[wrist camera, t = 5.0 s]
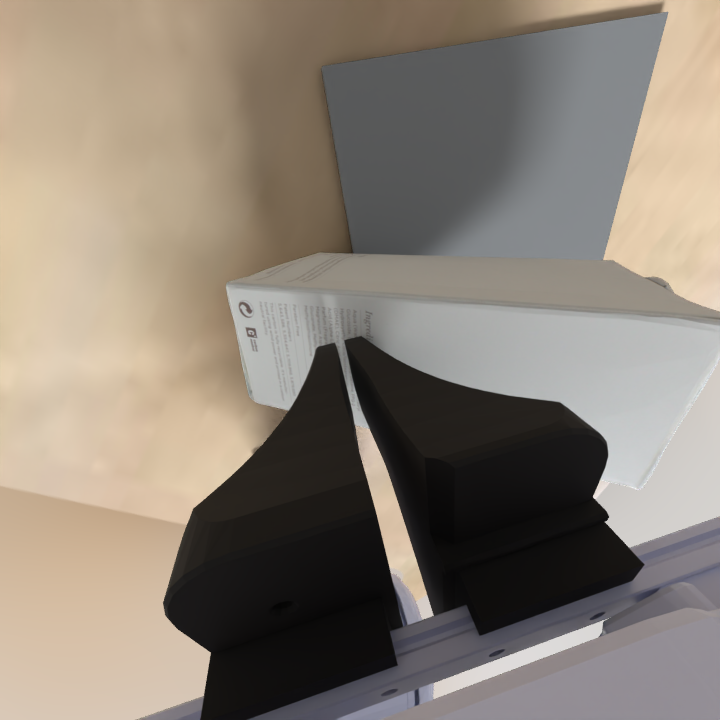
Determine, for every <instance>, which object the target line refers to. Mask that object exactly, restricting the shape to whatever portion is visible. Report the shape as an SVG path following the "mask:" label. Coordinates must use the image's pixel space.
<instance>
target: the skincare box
mask: <svg viewBox="0 0 720 720" xmlns="http://www.w3.org/2000/svg"><path fill="white" fill-rule="evenodd" d="M226 291H227V297H228V302H229V306H230V310H231V313H232V316H233V320H234V324H235V329H236V334H237V339H238V344H239V350H240V356H241V363H242V367H243V371H244V376H245V381H246V385H247V390H248V394H249V397H250V398H251V399H252V400H254V401H255V402H256V403H258V404H262V405H267V406H271V407H276V408H280V409H284V410H289V409H290V408H291V406H292V405H293V403H294V401H295V399H296V398H297V396H298V394H299V392H300V390H301V388H302V386H303V384H304V382H305V380H306V377H307V375H308V372H309V370H310V367H311V364H312V361H313V358H314V354H315V350H316V349H317V347H319V346H323V345H327V344H331V343H335V344H336V346H337V349H338V353H339V357H340V361H341V366H342V370H343V374H344V378H345V382H346V386H347V391H348V395H349V399H350V403H351V407H352V411H353V417H354V423H355V425H356V426H360V427H364V428H369V426H368V424H367V422H366V419H365V417H364V415H363V412H362V410H361V407H360V404H359V401H358V397H357V394H356V391H355V387H354V383H353V378H352V374H351V369H350V365H349V360H348V356H347V351H346V347H345V342H344V340H347V339H351V338H355V337H359V336H362V337H364V338H365V339H367V340H368V341H369V342H371V343H372V344H374V345H375V346H377V347H378V348H379V349H381V350H382V351H384V352H386V353H387V354H389V355H390V356H392V357H394V358H395V359H397V360H399V361H401V362H403V363H405V364H407V365H409V366H411V367H413V368H415V369H417V370H420V371H422V372H424V373H427V374H430V375H432V376H435V377H437V378H440V379H443V380H446V381H449V382H453V383H456V384H460V385H463V386H467V387H471V388H475V389H479V390H483V391H488V392H494V393H499V394H504V395H509V396H516V397H524V398H532V399H540V400H548V401H556V402H560V403H562V404H563V405H565V406H566V407H567V408H569V409H570V410H571V411H572V412H574V413H575V414H576V415H577V416H579V417H580V418H581V419H583V420H584V421H585V422H586V423H588V424H589V425H590V426H591V427H593V428H594V429H595V430H596V431H598V432H599V433H600V434H601V435H602V436H603V437H604V439H605V440H606V441H607V446H608V460H607V463H606V467H605V470H604V472H603V474H602V477H601V479H600V480H601V481H606V482H610V483H615V484H619V485H624V486H628V487H631V488H634V489H636V490H640V489H642V488H643V487H644V485H645V484H646V482H647V481H648V479H649V478H650V476H651V475H652V474H653V472H654V470H655V468H656V466H657V464H658V462H659V460H660V458H661V456H662V454H663V452H664V450H665V448H666V447H667V445H668V443H669V442H670V440H671V438H672V436H673V435H674V433H675V431H676V430H677V428H678V427H679V425H680V424H681V422H682V420H683V419H684V417H685V416H686V414H687V413H688V411H689V410H690V408H691V407H692V405H693V404H694V402H695V400H696V399H697V397H698V395H699V394H700V392H701V391H702V389H703V388H704V386H705V384H706V382H707V381H708V379H709V377H710V376H711V374H712V372H713V370H714V368H715V367H716V365H717V364H718V362H719V360H720V312H719V311H716V310H713V309H710V308H707V307H703V306H701V305H698V304H696V303H693V302H690V301H688V300H686V299H684V298H682V297H680V296H678V295H676V294H675V293H674V292H673V290H672V288H671V287H670V285H669V284H668V283H667V282H666V281H664V280H663V279H661V278H658V277H647V278H645V277H642V276H640V275H638V274H636V273H634V272H632V271H630V270H628V269H627V268H625V267H623V266H622V265H620V264H618V263H617V262H615V261H613V260H575V259H541V258H502V257H462V256H427V255H389V254H351V253H324V252H319V253H316V254H313V255H310V256H307V257H303V258H300V259H296V260H293V261H290V262H287V263H283V264H280V265H277V266H274V267H271V268H268V269H266V270H263V271H260V272H258V273H255V274H253V275H251V276H247V277H244V278H240V279H236V280H232V281H229V282H227V284H226ZM369 429H370V428H369Z"/></svg>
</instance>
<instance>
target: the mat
mask: <svg viewBox="0 0 720 720" xmlns="http://www.w3.org/2000/svg"><path fill="white" fill-rule="evenodd" d="M667 15H668V12H663V13H657V14H651V15H644V16H638V17H632V18H625V19H619V20H612V21H606V22H600V23H593V24H587V25H581V26H574V27H568V28H562V29H555V30H549V31H543V32H536V33H530V34H523V35H517V36H511V37H504V38H498V39H492V40H485V41H479V42H473V43H466V44H460V45H454V46H447V47H441V48H434V49H428V50H422V51H415V52H409V53H403V54H396V55H390V56H384V57H377V58H371V59H365V60H358V61H352V62H345V63H339V64H333V65H326V66H322V68H321V71H322V76H323V82H324V88H325V94H326V100H327V106H328V111H329V117H330V123H331V129H332V135H333V140H334V146H335V152H336V158H337V164H338V170H339V175H340V181H341V187H342V193H343V199H344V205H345V210H346V216H347V222H348V228H349V234H350V239H351V245H352V251H353V254H389V255H427V256H462V257H502V258H541V259H575V260H603V257H604V254H605V250H606V246H607V242H608V239H609V235H610V231H611V227H612V223H613V220H614V216H615V212H616V208H617V205H618V201H619V197H620V193H621V189H622V186H623V182H624V178H625V174H626V171H627V167H628V163H629V159H630V155H631V152H632V148H633V144H634V140H635V136H636V133H637V129H638V125H639V121H640V118H641V114H642V110H643V106H644V102H645V99H646V95H647V91H648V87H649V84H650V80H651V76H652V72H653V68H654V65H655V61H656V57H657V53H658V49H659V46H660V42H661V38H662V34H663V31H664V27H665V23H666V19H667Z"/></svg>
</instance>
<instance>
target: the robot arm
mask: <svg viewBox="0 0 720 720" xmlns="http://www.w3.org/2000/svg"><path fill="white" fill-rule="evenodd" d="M344 342H345V347H346V351H347V356H348V360H349V365H350V369H351V374H352V378H353V383H354V387H355V391H356V394H357V397H358V401H359V404H360V407H361V410H362V412H363V415H364V417H365V419H366V422H367V424H368V426H369V428H370V431H371V433H372V435H373V437H374V440H375V442H376V444H377V446H378V449H379V451H380V453H381V455H382V458H383V460H384V462H385V465H386V468H387V470H388V473H389V476H390V479H391V482H392V485H393V488H394V491H395V494H396V497H397V500H398V503H399V506H400V509H401V513H402V516H403V519H404V522H405V525H406V528H407V531H408V534H409V538H410V541H411V544H412V547H413V550H414V553H415V557H416V560H417V563H418V566H419V569H420V572H421V576H422V579H423V582H424V585H425V589H426V592H427V595H428V598H429V602H430V605H431V608H432V611H433V614H434V616H432V617H430V618H427V619H424V620H422V618H421V615H420V612H419V609H418V606H417V604H416V601H415V599H414V597H413V595H412V593H411V591H410V590H409V588H408V587H407V586H406V585H405V584H404V583H403V582H402V581H401V579H400V578H399V577H398V576H397V575H395V574H391V573H390V568H389V564H388V560H387V556H386V552H385V548H384V544H383V539H382V535H381V531H380V527H379V523H378V519H377V515H376V511H375V507H374V503H373V500H372V496H371V492H370V489H369V485H368V481H367V478H366V474H365V471H364V468H363V464H362V461H361V457H360V454H359V448H358V442H357V435H356V429H355V423H354V417H353V411H352V407H351V403H350V399H349V395H348V391H347V386H346V382H345V378H344V374H343V370H342V366H341V361H340V357H339V353H338V349H337V346H336V344H335V343H331V344H327V345H323V346H319V347H317V349H316V350H315V354H314V358H313V361H312V364H311V367H310V370H309V372H308V375H307V377H306V380H305V382H304V384H303V386H302V388H301V390H300V392H299V394H298V396H297V398H296V399H295V401H294V403H293V405H292V406H291V408H290V409H289V411H288V412H287V414H286V415H285V417H284V418H283V420H282V421H281V423H280V424H279V425H278V426H277V428H276V429H275V430H274V431H273V433H272V434H271V435H270V436H269V438H268V439H267V440H266V441H265V442H264V444H263V445H262V446H261V447H260V448H259V449H258V450H257V451H256V452H255V453H254V454H253V455H252V456H251V457H250V458H249V459H248V460H247V461H246V462H245V463H244V464H243V465H242V466H241V467H240V468H239V469H238V470H237V471H236V472H235V473H234V474H233V475H232V476H231V477H230V478H229V479H227V480H226V481H225V482H224V483H223V484H222V485H221V486H219V487H218V488H217V489H216V490H215V491H214V492H212V493H211V494H210V495H209V496H208V497H207V498H206V499H204V500H203V501H202V502H201V503H200V504H198V505H197V506H196V507H195V508H194V509H193V511H192V514H191V516H190V519H189V522H188V524H187V527H186V529H185V532H184V535H183V538H182V541H181V544H180V547H179V550H178V554H177V557H176V561H175V564H174V568H173V571H172V574H171V578H170V581H169V585H168V588H167V592H166V595H165V598H164V602H163V605H164V609H165V615H166V617H167V618H168V619H169V620H170V621H171V622H172V624H173V625H175V627H176V628H177V629H178V630H180V631H181V632H183V633H184V634H186V635H187V636H188V637H190V638H191V639H192V640H194V641H195V642H197V643H198V644H200V645H201V646H203V647H204V648H205V649H207V650H208V651H209V652H211V656H210V663H209V669H208V675H207V681H206V687H205V693H204V696H203V697H200V698H197V699H194V700H191V701H189V702H185V703H183V704H180V705H177V706H174V707H171V708H168V709H165V710H163V711H160V712H157V713H154V714H151V715H148V716H145V717H143V718H140V719H137V720H720V517H717V518H714V519H711V520H708V521H705V522H702V523H700V524H697V525H694V526H691V527H688V528H685V529H682V530H679V531H677V532H674V533H671V534H668V535H665V536H662V537H659V538H656V539H654V540H651V541H648V542H645V543H642V544H639V545H636V546H634V547H631V548H629V547H628V546H627V545H626V544H625V543H624V542H623V541H622V540H621V539H620V538H619V537H618V536H617V535H616V534H615V533H614V531H613V530H612V529H611V528H610V527H609V526H608V525H607V524H606V523H605V521H607V520H608V518H609V516H608V514H607V512H606V510H605V509H604V508H603V507H602V506H601V505H600V504H598V502H597V501H596V500H595V499H594V498H593V495H594V493H595V490H596V488H597V486H598V483H599V481H600V479H601V477H602V474H603V472H604V470H605V467H606V463H607V460H608V446H607V441H606V440H605V439H604V437H603V436H602V435H601V434H600V433H599V432H598V431H596V430H595V429H594V428H593V427H591V426H590V425H589V424H588V423H586V422H585V421H584V420H583V419H581V418H580V417H579V416H577V415H576V414H575V413H574V412H572V411H571V410H570V409H569V408H567V407H566V406H565V405H563V404H562V403H560V402H556V401H548V400H540V399H532V398H524V397H516V396H509V395H504V394H499V393H494V392H488V391H483V390H479V389H475V388H471V387H467V386H463V385H460V384H456V383H453V382H449V381H446V380H443V379H440V378H437V377H435V376H432V375H430V374H427V373H424V372H422V371H420V370H417V369H415V368H413V367H411V366H409V365H407V364H405V363H403V362H401V361H399V360H397V359H395V358H394V357H392V356H390V355H389V354H387V353H386V352H384V351H382V350H381V349H379V348H378V347H377V346H375V345H374V344H372V343H371V342H369V341H368V340H367V339H365V338H364V337H362V336H359V337H355V338H351V339H347V340H344ZM610 617H611V618H610ZM608 618H609V619H608ZM605 619H607V620H606V621H604V622H603V629H602V633H601V635H600V636H599V637H598V638H596V639H593V640H590V641H588V642H585V643H582V644H580V645H577V646H575V647H572V648H569V649H567V650H564V651H561V652H558V653H556V654H553V655H550V656H548V657H545V658H543V659H540V660H537V661H535V662H532V663H530V664H527V665H524V666H521V667H519V668H516V669H513V670H511V671H508V672H505V673H503V674H500V675H497V676H495V677H492V678H489V679H487V680H484V681H481V682H479V683H476V684H473V685H471V686H468V687H465V688H463V689H460V690H457V691H455V692H452V693H449V694H447V695H444V696H441V697H439V698H436V699H433V690H434V689H433V687H434V686H433V685H434V683H435V682H437V681H440V680H443V679H446V678H448V677H451V676H454V675H456V674H459V673H461V672H464V671H467V670H470V669H472V668H475V667H478V666H481V665H483V664H486V663H488V662H491V661H494V660H497V659H500V658H502V657H505V656H508V655H510V654H513V653H516V652H518V651H521V650H524V649H527V648H529V647H532V646H535V645H537V644H540V643H543V642H545V641H548V640H551V639H553V638H556V637H559V636H562V635H564V634H567V633H570V632H572V631H575V630H578V629H581V628H583V627H586V626H589V625H591V624H594V623H597V622H599V621H602V620H605Z"/></svg>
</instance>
